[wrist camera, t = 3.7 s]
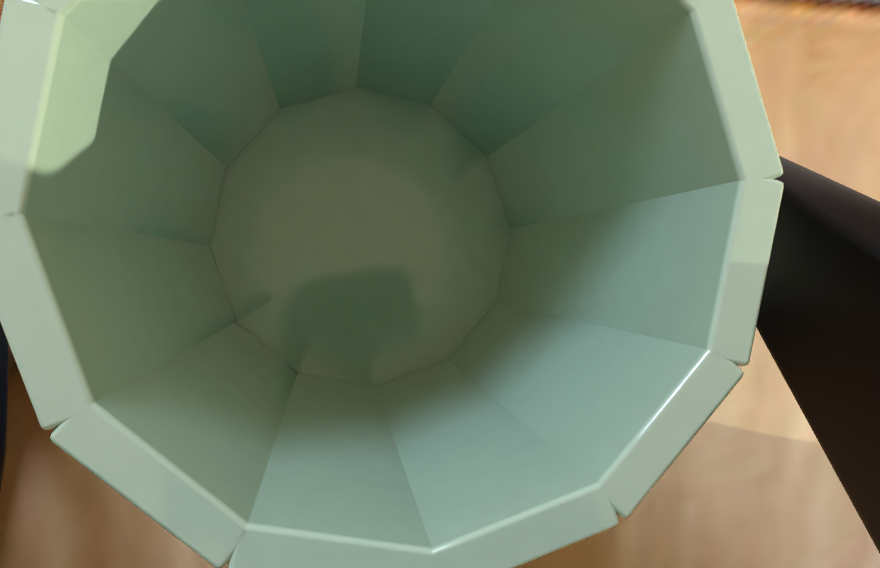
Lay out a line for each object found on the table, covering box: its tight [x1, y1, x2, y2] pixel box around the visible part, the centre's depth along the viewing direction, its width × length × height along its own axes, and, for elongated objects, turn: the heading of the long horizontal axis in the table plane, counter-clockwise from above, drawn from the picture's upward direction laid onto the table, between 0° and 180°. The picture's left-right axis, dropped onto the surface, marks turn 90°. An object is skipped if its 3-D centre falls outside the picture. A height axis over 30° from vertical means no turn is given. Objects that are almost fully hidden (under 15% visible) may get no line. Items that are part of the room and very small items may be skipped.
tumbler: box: [0, 0, 784, 568], centre depth 9 cm, size 6×6×8 cm
